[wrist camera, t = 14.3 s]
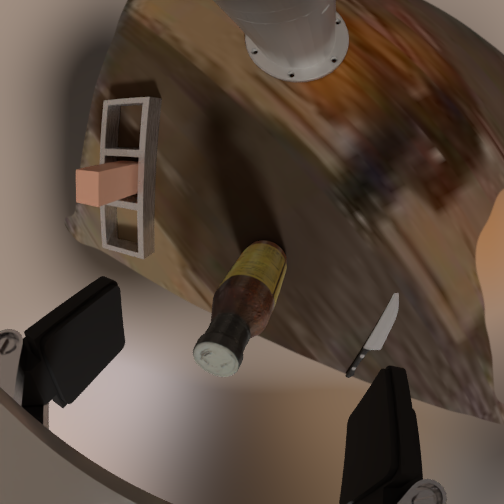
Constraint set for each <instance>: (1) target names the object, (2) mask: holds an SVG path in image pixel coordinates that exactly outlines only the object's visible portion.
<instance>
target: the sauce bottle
mask: <svg viewBox="0 0 504 504" xmlns="http://www.w3.org/2000/svg"><path fill="white" fill-rule="evenodd" d="M286 263H287V262H286V255H285V253H284V251H283V250H282V249H281V248H280V247H279V246H278V245H277V244H275V243H273V242H270V241H265V240H262V241H256V242H254V243H252V244H251V245H250V246H249V247H247V248H246V249H245V250H244V251H243V252H242V254H241V255H240V257H239V258H238V260H237V261H236V263H235V264H234V265H233V267H232V268H231V270H230V272H229V273H228V274H227V276H226V277H225V279H224V280H223V281H222V283H221V284H220V286H219V287H218V289H217V291H216V292H215V295H214V298H213V305H212V316H211V323H210V326H209V328H208V329H207V331H206V332H205V334H203V335H202V336H201V337H200V338H199V339H198V341H197V343H196V345H195V347H194V350H193V356H194V359H195V361H196V363H197V364H198V365H199V366H200V367H201V368H202V369H204V370H205V371H206V372H208V373H211V374H213V375H215V376H220V377H227V376H231V375H233V374H235V373H236V372H237V371H238V369H239V367H240V365H241V363H242V360H243V351H244V349H245V346H246V345H247V343H248V341H249V339H250V338H252V337H254V336H256V335H258V334H260V333H261V332H262V331H263V330H265V327H266V325H267V324H268V321H269V318H270V315H271V313H272V312H273V309H274V307H275V304H276V300H277V297H278V294H279V291H280V288H281V285H282V282H283V279H284V276H285V273H286Z"/></svg>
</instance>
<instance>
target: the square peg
mask: <svg viewBox="0 0 504 504" xmlns="http://www.w3.org/2000/svg"><path fill="white" fill-rule="evenodd" d="M138 163H139V162H135V161H125V160H121V161H116V162H110V163H105V164H100V165H95V166H90V167H85V168H81V169H76V202H77V203H82V204H87V205H92V206H96V207H100V206H103V205H105V204H108V203H111V202H114V201H116V200H119V199H122V198H125V197H128V196H131V195H134V194H137V193H138Z"/></svg>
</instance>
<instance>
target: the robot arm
mask: <svg viewBox="0 0 504 504" xmlns="http://www.w3.org/2000/svg"><path fill="white" fill-rule="evenodd" d="M213 1H214V2H215V3H216V4H217V5H218V6H219V7H220V8H221V9H222V10H223V11H224V12H225V13H226V14H227V15H228V16H229V17H230V18H231V19H232V20H233V21H234V22H235V23H236V24H237V25H238V26H239V27H240V28H241V29H242V30H243V32H244V33H245V43H246V48H247V51H248V53H249V55H250V57H251V58H252V60H253V61H254V63H255V64H256V65H257V66H258V67H259V68H260V69H262V70H263V71H264V72H266V73H267V74H269V75H271V76H273V77H275V78H278V79H281V80H284V81H290V82H307V81H314V80H316V79H319V78H322V77H324V76H326V75H328V74H330V73H331V72H332V71H334V70H335V69H336V68H337V67H338V66H339V65H340V64H341V62H342V61H343V60H344V57H345V55H346V53H347V49H348V44H349V36H348V30H347V27H346V25H345V22H344V21H343V19H342V18H341V16H340V15H339V14H338V13H337V12H336V0H213ZM336 23H339V24H338V25H337V24H336ZM255 52H258V53H257V54H254V53H255ZM332 60H336V62H335V63H333V62H332ZM291 74H293V75H294V77H290V75H291ZM24 333H25V336H26V337H25V338H22V335H21V334H20V333H19V332H18V331H15V330H12V329H6V330H2V331H0V504H172V503H170V502H167V501H165V500H163V499H160V498H158V497H156V496H154V495H152V494H150V493H148V492H146V491H144V490H141V489H140V488H138V487H136V486H134V485H132V484H130V483H128V482H126V481H124V480H123V479H121V478H119V477H117V476H115V475H114V474H112V473H111V472H109V471H107V470H106V469H103V468H102V467H101V466H99V465H98V464H96V463H94V462H93V461H91V460H90V459H88V458H87V457H85V456H84V455H82V454H81V453H79V452H78V451H76V450H75V449H74V448H72V447H71V446H69V445H68V444H66V443H65V442H64V441H63V440H61V439H60V438H59V437H57V436H56V435H55V434H53V433H52V432H51V431H50V430H49V422H48V421H49V402H50V400H52V399H53V401H54V402H55V403H57V404H58V405H59V406H61V407H62V408H64V407H65V406H66V405H67V404H70V403H72V402H73V401H74V400H75V399H76V398H77V397H78V396H79V395H80V394H81V392H83V391H84V390H85V388H86V387H87V386H88V385H89V384H90V383H91V382H92V381H93V380H94V379H95V378H96V377H97V376H98V374H99V373H100V372H101V371H102V370H103V369H104V368H105V367H106V366H107V365H108V364H109V363H110V362H111V361H112V360H113V359H114V357H115V356H116V355H117V354H118V353H119V352H120V351H121V350H122V349H123V347H124V344H125V337H124V328H123V318H122V308H121V295H120V288H119V287H118V284H117V282H116V281H114V280H111V279H109V278H107V277H104V276H102V277H100V278H98V279H97V280H95V281H94V282H92V283H91V284H89V285H88V286H87V287H85V288H84V289H82V290H81V291H79V292H78V293H76V294H75V295H74V296H72V297H71V298H69V299H68V300H66V301H65V302H64V303H62V304H61V305H59V306H58V307H57V308H55V309H54V310H53V311H51V312H50V313H48V314H47V315H46V316H44V317H43V318H42V319H40V320H39V321H38V322H36V323H35V324H34V325H32V326H31V327H30V328H28V329H27V330H26V331H25V332H24ZM446 502H447V496H446V492H445V490H444V488H443V487H442V486H441V484H440V483H438V482H437V481H435V480H431V479H424V480H423V474H422V461H421V451H420V442H419V433H418V426H417V419H416V413H415V411H414V410H413V409H412V402H411V396H410V391H409V385H408V380H407V374H406V370H405V369H404V368H400V367H395V366H388V367H387V368H386V369H381V370H380V372H379V373H378V375H377V376H376V378H375V380H374V381H373V383H372V384H371V386H370V388H369V389H368V390H367V392H366V394H365V395H364V396H363V398H362V400H361V401H360V403H359V404H358V405H357V407H356V408H355V410H354V411H353V412H352V414H351V415H350V417H349V419H348V423H347V436H346V448H345V460H344V469H343V478H342V486H341V494H340V501H339V503H340V504H446Z"/></svg>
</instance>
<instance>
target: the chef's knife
mask: <svg viewBox="0 0 504 504" xmlns="http://www.w3.org/2000/svg"><path fill="white" fill-rule="evenodd" d="M398 305H399V295H398V293H394V295H393V296H392V298H391V300H390V302H389V304H388V305H387V307H386V309H385V311H384V312H383V314H382V316H381V318H380V319H379V321H378V323H377V325H376V326H375V328H374V330H373V331H372V333H371V335H370V336H369V338H368V340H367V341H366V343H365V344H364V346H363V348H362V350H361V352H360V353H359V355H358V357H357V358H356V360H355V361H354V363H353V364H352V366H351V367H350V369H349V371H348V372H347V374H346V377H348V378H349V377H351V376H353V375H354V372H355V370H356V367H357V366H358V364H359V363H360V361H361V360H362V359H363V358H364V356H365V355H366V353H367V352H368V351H369V350H380V349H381V347H382V345H383V344H384V342H385V340H386V338H387V336H388V334H389V332H390V330H391V328H392V326H393V323H394V321H395V319H396V316H397V313H398Z"/></svg>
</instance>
